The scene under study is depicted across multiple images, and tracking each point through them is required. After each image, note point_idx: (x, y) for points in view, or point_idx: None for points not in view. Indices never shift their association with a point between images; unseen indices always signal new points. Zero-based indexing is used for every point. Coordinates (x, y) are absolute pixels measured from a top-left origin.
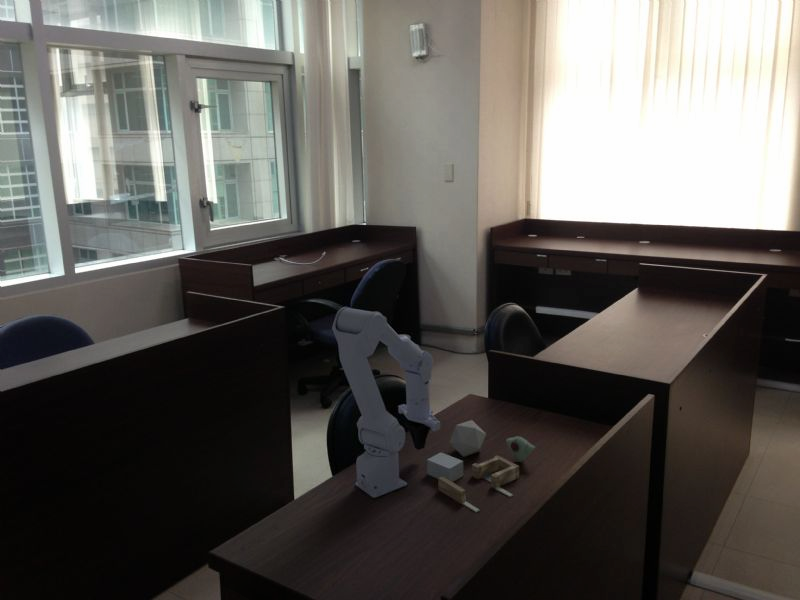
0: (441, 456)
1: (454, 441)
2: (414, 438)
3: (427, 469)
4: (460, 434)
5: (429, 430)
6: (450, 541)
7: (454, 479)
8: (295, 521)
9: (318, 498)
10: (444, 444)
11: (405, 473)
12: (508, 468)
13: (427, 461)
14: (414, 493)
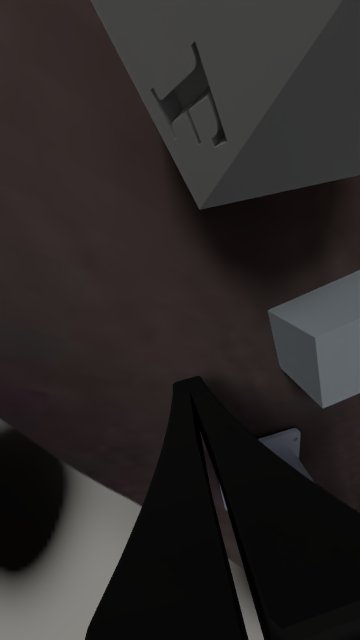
0: (347, 350)
1: (272, 189)
2: (207, 475)
3: (293, 378)
4: None
5: (288, 464)
6: None
7: None
8: None
9: (230, 541)
10: (71, 187)
11: (238, 416)
12: None
13: (318, 401)
14: (333, 419)
